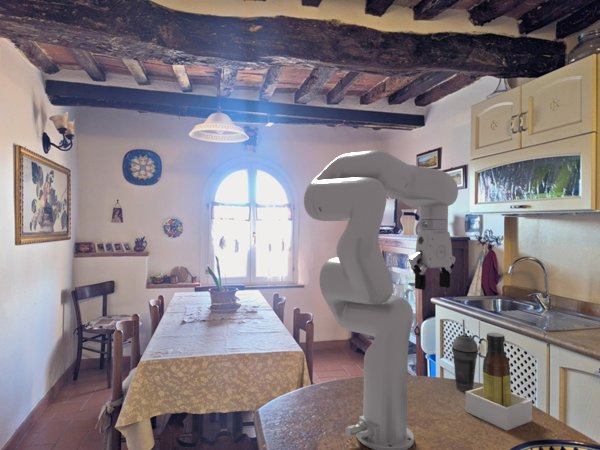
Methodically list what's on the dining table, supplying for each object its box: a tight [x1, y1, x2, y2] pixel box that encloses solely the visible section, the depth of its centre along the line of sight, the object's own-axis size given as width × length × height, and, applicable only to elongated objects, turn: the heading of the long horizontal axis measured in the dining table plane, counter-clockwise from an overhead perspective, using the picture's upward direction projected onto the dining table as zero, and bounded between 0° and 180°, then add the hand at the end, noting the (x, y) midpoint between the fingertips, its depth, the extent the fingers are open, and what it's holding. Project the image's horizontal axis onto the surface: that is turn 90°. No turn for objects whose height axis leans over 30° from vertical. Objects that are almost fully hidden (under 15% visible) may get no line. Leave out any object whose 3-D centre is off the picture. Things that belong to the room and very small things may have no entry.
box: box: [464, 386, 533, 431], centre depth 100 cm, size 10×11×5 cm
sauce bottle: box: [482, 332, 512, 407], centre depth 100 cm, size 7×6×20 cm
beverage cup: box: [451, 319, 479, 392], centre depth 117 cm, size 7×7×20 cm
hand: (432, 288), depth 110 cm, fingers open, 9 cm apart
